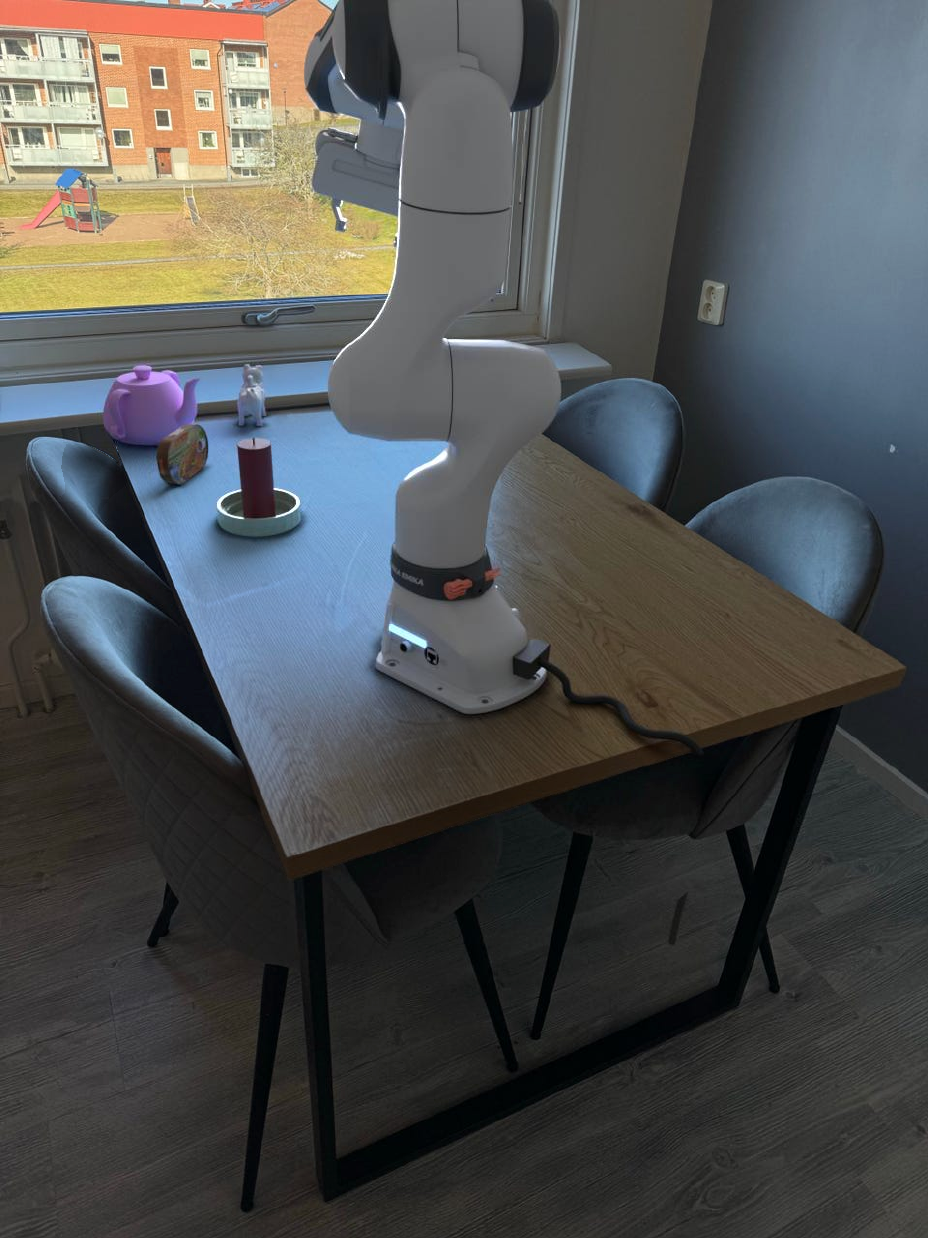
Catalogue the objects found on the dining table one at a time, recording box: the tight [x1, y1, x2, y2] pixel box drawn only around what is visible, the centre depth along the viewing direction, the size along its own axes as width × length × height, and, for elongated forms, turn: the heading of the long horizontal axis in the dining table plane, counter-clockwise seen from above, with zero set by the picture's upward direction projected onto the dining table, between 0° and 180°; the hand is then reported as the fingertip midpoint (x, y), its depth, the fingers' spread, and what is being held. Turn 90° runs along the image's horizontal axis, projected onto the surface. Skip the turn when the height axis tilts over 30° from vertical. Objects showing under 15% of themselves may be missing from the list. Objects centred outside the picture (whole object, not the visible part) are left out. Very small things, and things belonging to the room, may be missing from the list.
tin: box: [155, 423, 209, 485], centre depth 158 cm, size 15×3×8 cm, turn 168°
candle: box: [236, 437, 276, 519], centre depth 141 cm, size 5×5×14 cm
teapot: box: [102, 365, 202, 446], centre depth 172 cm, size 22×22×14 cm
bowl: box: [216, 487, 302, 538], centre depth 144 cm, size 13×13×3 cm
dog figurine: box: [236, 363, 267, 427], centre depth 186 cm, size 5×13×11 cm, turn 6°
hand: (369, 238), depth 139 cm, fingers open, 8 cm apart
